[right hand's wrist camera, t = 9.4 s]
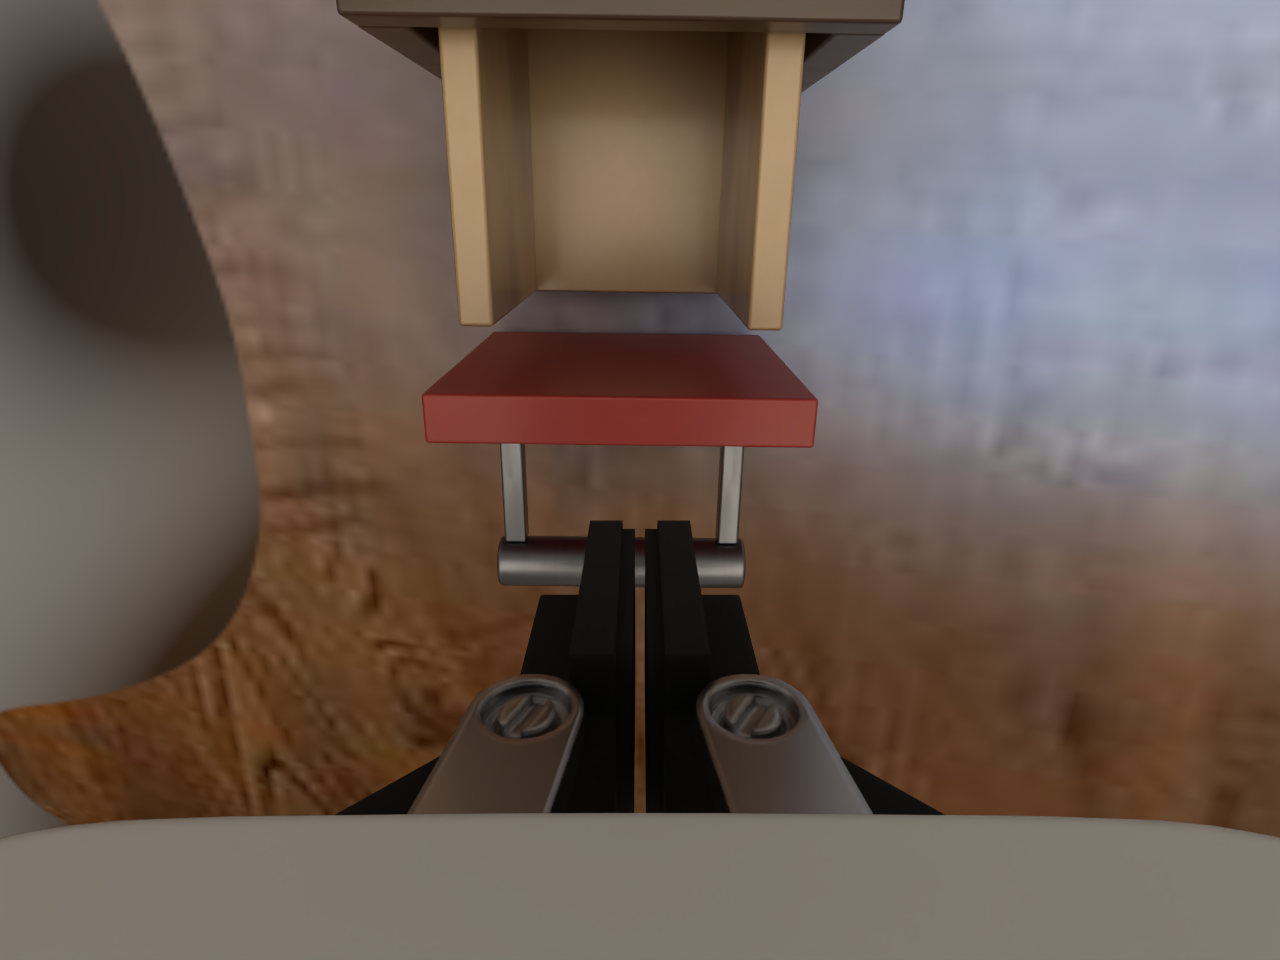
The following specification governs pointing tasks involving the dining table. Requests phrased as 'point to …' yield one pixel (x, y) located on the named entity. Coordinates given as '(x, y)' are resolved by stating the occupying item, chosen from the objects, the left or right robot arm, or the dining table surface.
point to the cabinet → (634, 22)
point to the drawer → (620, 255)
